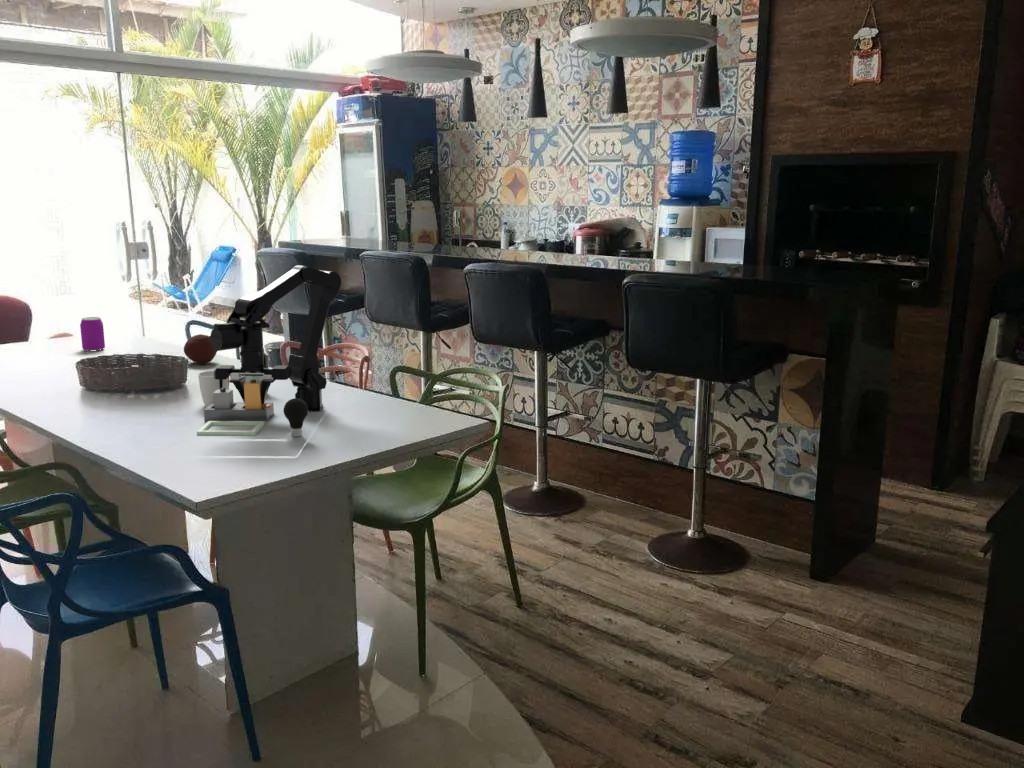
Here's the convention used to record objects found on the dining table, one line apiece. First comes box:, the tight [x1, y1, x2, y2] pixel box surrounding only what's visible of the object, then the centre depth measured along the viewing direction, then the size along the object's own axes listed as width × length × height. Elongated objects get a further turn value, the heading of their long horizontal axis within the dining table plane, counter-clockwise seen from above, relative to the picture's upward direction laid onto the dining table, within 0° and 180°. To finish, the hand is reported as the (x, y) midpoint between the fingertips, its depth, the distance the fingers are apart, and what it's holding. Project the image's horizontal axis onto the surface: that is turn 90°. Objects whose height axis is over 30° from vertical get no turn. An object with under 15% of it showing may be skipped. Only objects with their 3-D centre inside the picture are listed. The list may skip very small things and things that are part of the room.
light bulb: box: [283, 398, 309, 438], centre depth 210 cm, size 6×6×10 cm
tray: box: [196, 421, 265, 436], centre depth 214 cm, size 14×10×2 cm
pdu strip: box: [203, 401, 275, 422], centre depth 225 cm, size 16×8×4 cm, turn 93°
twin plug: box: [213, 388, 234, 409], centre depth 224 cm, size 4×4×8 cm
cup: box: [197, 370, 230, 408], centre depth 237 cm, size 8×8×10 cm
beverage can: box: [79, 316, 106, 352], centre depth 319 cm, size 8×8×12 cm
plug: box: [244, 379, 264, 409], centre depth 224 cm, size 4×4×9 cm
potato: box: [183, 334, 218, 365], centre depth 298 cm, size 11×13×10 cm
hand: (254, 404), depth 225 cm, fingers closed on plug, 4 cm apart
